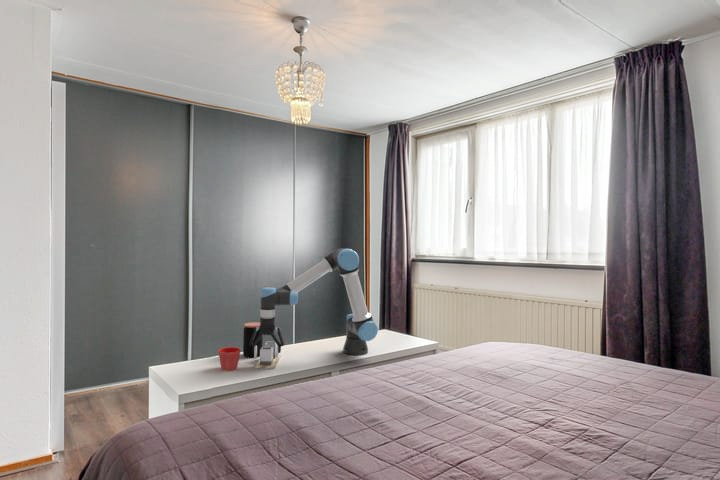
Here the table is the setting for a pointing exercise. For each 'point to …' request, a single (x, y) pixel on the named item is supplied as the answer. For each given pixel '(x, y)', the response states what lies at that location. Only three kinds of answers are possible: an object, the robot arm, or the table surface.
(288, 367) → the table surface
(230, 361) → the flower pot
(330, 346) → the table surface
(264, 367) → the pin board
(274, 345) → the sleeve
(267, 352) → the sleeve
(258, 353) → the coffee jar
